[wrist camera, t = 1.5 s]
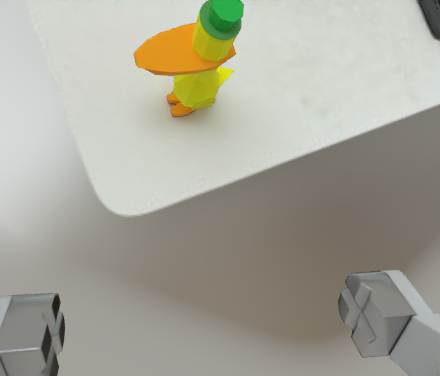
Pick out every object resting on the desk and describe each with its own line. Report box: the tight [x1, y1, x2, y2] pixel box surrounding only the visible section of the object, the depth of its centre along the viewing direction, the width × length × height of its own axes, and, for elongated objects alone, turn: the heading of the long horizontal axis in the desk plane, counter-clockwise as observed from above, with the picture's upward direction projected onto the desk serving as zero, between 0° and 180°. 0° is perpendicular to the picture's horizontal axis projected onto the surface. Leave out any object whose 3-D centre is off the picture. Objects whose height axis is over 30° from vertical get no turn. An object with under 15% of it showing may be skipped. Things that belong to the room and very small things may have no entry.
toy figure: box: [134, 0, 244, 117], centre depth 23 cm, size 7×4×12 cm, turn 109°
